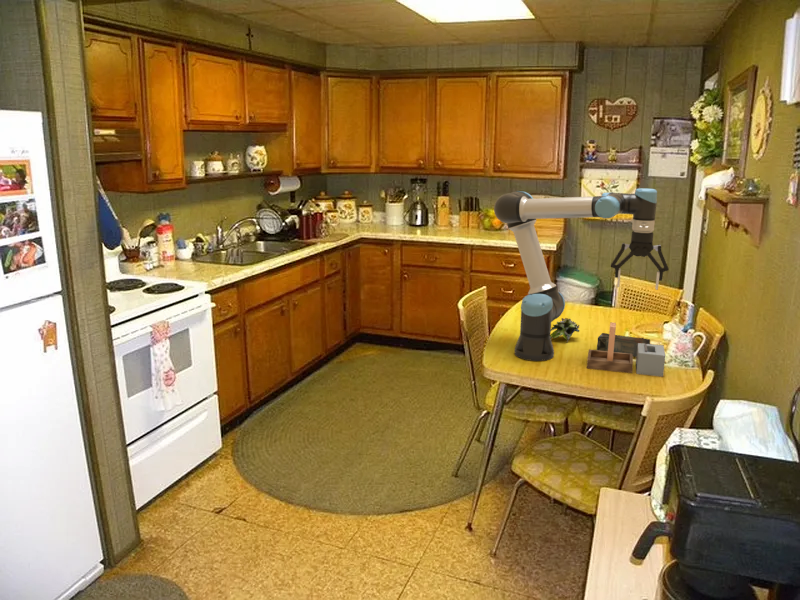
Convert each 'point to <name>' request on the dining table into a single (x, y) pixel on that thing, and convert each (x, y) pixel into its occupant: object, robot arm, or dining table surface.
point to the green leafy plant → (564, 329)
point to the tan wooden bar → (611, 341)
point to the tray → (619, 363)
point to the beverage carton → (621, 343)
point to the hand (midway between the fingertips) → (637, 287)
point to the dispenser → (650, 359)
